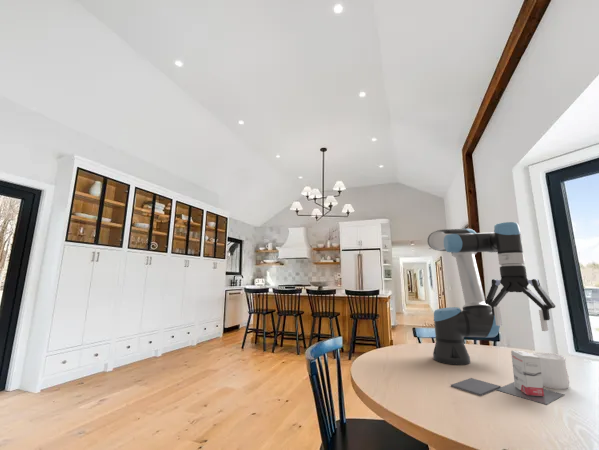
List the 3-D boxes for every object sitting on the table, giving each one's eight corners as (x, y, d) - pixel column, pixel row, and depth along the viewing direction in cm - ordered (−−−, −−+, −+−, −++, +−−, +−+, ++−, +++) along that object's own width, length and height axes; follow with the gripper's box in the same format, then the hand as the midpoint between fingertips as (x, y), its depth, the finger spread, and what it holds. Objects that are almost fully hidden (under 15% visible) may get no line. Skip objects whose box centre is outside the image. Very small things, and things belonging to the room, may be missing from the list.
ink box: (546, 397, 92) (540, 356, 94) (527, 395, 93) (522, 356, 95) (530, 387, 100) (525, 350, 102) (514, 386, 101) (509, 349, 103)
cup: (528, 382, 106) (524, 353, 107) (544, 378, 109) (540, 351, 111) (559, 391, 97) (554, 360, 99) (576, 386, 101) (571, 357, 103)
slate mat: (495, 390, 99) (495, 389, 99) (515, 382, 106) (515, 381, 106) (546, 404, 87) (546, 403, 87) (564, 394, 94) (564, 393, 94)
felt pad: (451, 386, 102) (450, 384, 102) (471, 379, 109) (471, 377, 109) (480, 396, 94) (480, 394, 94) (500, 387, 100) (500, 386, 100)
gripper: (470, 266, 112) (477, 324, 108) (551, 263, 91) (563, 334, 88) (480, 267, 116) (487, 322, 112) (560, 264, 95) (572, 332, 91)
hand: (520, 327), depth 100 cm, fingers open, 13 cm apart
